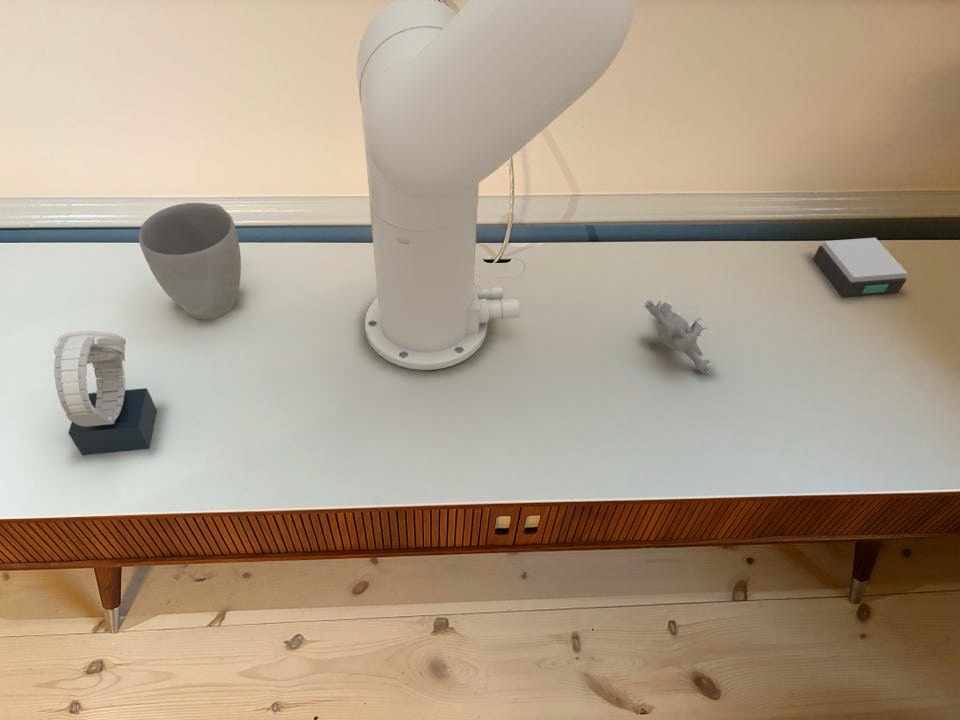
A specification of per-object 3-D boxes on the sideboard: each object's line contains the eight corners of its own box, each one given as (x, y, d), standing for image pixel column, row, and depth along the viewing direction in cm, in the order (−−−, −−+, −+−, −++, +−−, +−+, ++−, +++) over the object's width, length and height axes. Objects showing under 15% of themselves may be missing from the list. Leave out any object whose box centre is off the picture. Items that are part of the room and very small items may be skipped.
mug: (238, 334, 71) (216, 259, 64) (152, 327, 71) (121, 252, 64) (271, 261, 79) (254, 187, 72) (194, 255, 79) (170, 181, 72)
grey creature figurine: (720, 329, 75) (738, 366, 66) (674, 361, 77) (686, 401, 69) (663, 261, 72) (675, 291, 64) (617, 296, 74) (622, 329, 66)
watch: (160, 394, 65) (121, 306, 57) (146, 465, 60) (100, 379, 52) (96, 400, 64) (48, 312, 56) (76, 472, 59) (19, 386, 51)
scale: (865, 255, 85) (876, 236, 82) (899, 293, 80) (911, 274, 78) (812, 259, 84) (822, 240, 82) (843, 298, 79) (853, 279, 77)
